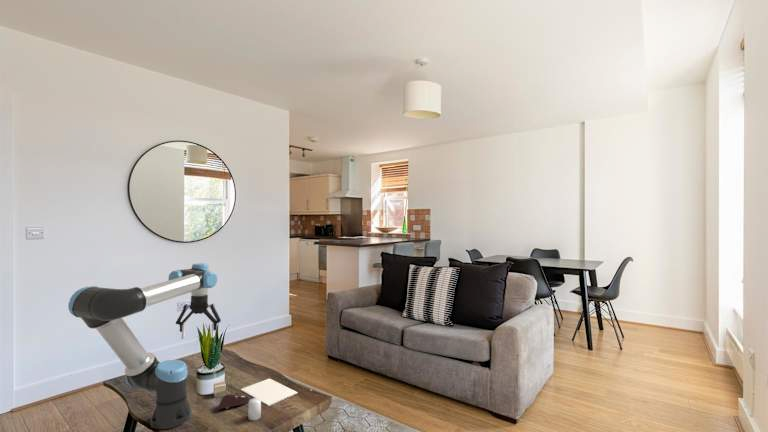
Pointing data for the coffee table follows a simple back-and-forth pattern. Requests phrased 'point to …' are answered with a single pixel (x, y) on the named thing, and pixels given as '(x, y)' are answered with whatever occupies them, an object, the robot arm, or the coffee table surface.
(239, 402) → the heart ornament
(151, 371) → the robot arm
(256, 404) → the white cylinder
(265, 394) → the cream mat
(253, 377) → the coffee table surface
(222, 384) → the beech block
